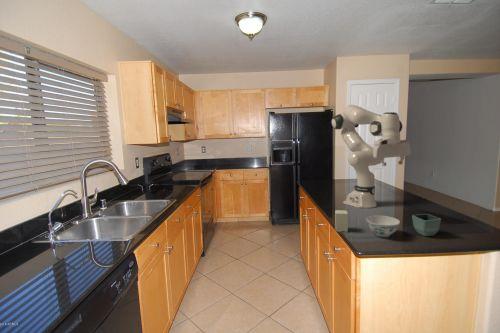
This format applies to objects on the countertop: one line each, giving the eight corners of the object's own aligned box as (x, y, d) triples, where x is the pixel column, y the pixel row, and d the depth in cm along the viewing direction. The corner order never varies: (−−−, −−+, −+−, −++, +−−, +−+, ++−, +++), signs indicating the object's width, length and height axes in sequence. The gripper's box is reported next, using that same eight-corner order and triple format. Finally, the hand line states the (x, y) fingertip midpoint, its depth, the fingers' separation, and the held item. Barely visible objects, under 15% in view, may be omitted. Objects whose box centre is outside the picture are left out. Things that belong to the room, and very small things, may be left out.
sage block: (335, 231, 136) (335, 213, 135) (335, 227, 142) (335, 210, 141) (347, 232, 135) (347, 213, 133) (346, 228, 140) (346, 210, 139)
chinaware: (359, 232, 133) (359, 218, 132) (380, 227, 139) (380, 213, 138) (385, 243, 119) (385, 227, 119) (406, 236, 125) (407, 221, 124)
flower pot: (410, 231, 131) (411, 214, 130) (426, 230, 132) (427, 213, 131) (423, 238, 123) (424, 220, 121) (440, 237, 123) (441, 219, 122)
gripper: (405, 139, 147) (406, 163, 148) (371, 142, 147) (372, 166, 148) (413, 139, 141) (414, 163, 142) (376, 142, 141) (378, 167, 142)
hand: (392, 165), depth 145 cm, fingers open, 8 cm apart
